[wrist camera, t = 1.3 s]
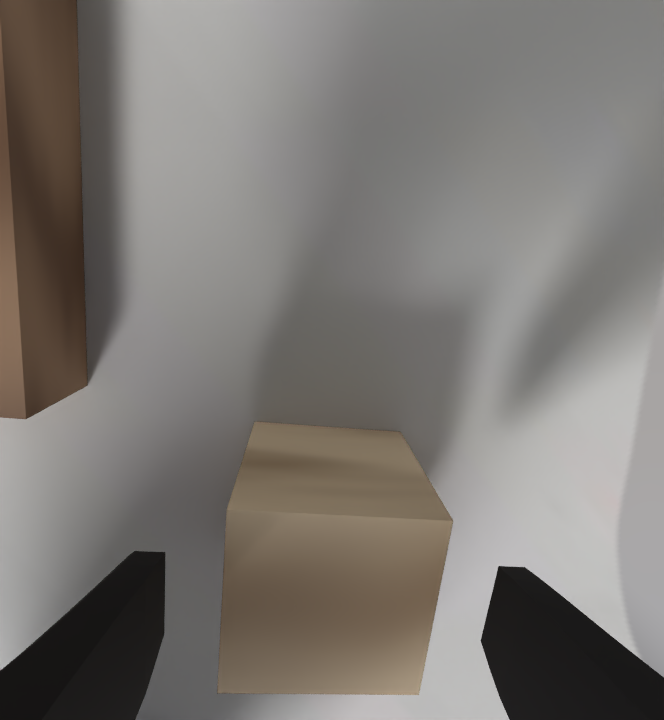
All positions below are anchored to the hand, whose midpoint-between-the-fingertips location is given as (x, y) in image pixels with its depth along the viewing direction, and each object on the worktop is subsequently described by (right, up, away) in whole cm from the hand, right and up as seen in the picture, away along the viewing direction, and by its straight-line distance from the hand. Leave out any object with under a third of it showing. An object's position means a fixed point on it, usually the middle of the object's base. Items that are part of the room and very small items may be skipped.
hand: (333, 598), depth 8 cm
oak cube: (0, +1, +4) cm, 4 cm away
